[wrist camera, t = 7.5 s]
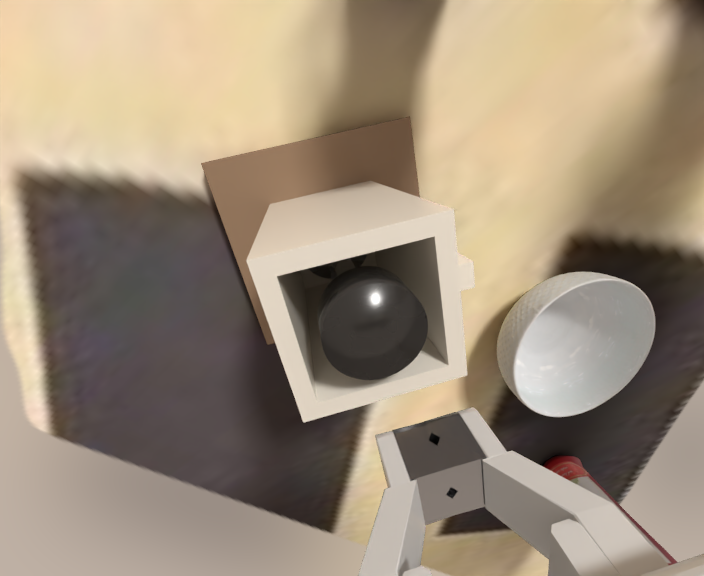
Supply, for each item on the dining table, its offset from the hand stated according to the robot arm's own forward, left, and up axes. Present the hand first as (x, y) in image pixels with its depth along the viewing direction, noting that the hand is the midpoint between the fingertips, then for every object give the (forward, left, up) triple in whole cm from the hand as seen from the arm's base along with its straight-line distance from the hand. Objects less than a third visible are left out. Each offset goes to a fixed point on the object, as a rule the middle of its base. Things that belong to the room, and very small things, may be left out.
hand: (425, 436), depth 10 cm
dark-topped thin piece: (0, 0, -23) cm, 23 cm away
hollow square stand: (0, 0, -25) cm, 25 cm away
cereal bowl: (-23, +17, -26) cm, 38 cm away
